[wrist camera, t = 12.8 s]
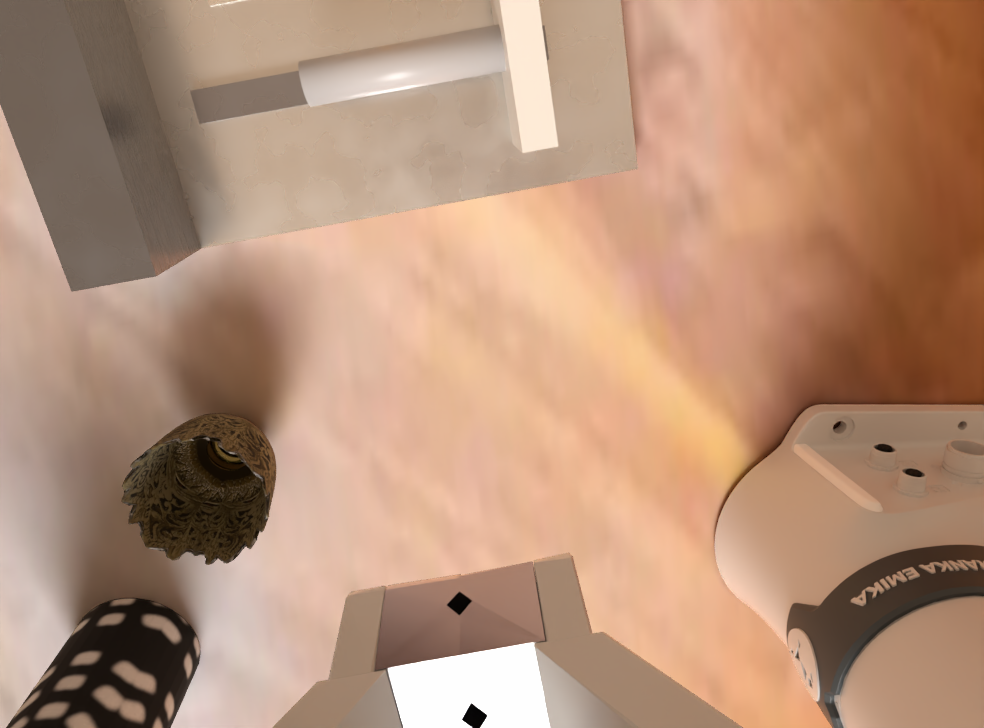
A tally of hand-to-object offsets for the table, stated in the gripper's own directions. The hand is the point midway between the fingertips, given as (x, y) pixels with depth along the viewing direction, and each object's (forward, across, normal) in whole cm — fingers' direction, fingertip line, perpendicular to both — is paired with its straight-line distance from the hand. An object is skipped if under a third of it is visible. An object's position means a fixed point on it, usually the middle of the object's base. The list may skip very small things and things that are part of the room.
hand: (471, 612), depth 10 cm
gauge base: (+34, +4, -8) cm, 35 cm away
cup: (+34, +16, +11) cm, 39 cm away
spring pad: (+32, 0, -9) cm, 33 cm away
